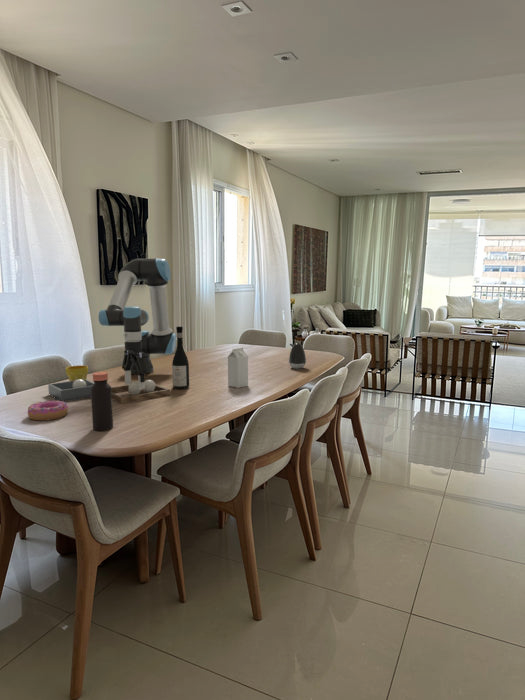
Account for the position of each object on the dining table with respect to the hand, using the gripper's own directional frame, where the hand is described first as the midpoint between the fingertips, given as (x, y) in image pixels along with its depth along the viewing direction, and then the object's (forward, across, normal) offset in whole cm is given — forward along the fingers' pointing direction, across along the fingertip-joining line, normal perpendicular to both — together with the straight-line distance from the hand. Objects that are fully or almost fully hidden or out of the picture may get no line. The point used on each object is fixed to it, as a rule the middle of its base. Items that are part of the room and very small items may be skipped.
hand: (134, 386), depth 217 cm
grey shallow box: (+4, -18, -21) cm, 28 cm away
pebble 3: (+4, 0, +7) cm, 8 cm away
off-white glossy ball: (+3, -18, -18) cm, 26 cm away
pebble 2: (+4, 0, 0) cm, 4 cm away
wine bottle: (+4, +1, +24) cm, 24 cm away
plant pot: (+4, -35, -13) cm, 37 cm away
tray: (+4, 0, 0) cm, 4 cm away
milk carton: (+4, +17, +47) cm, 50 cm away
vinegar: (+4, +38, -31) cm, 50 cm away
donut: (+5, +9, -41) cm, 42 cm away
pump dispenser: (+3, +3, +103) cm, 103 cm away
